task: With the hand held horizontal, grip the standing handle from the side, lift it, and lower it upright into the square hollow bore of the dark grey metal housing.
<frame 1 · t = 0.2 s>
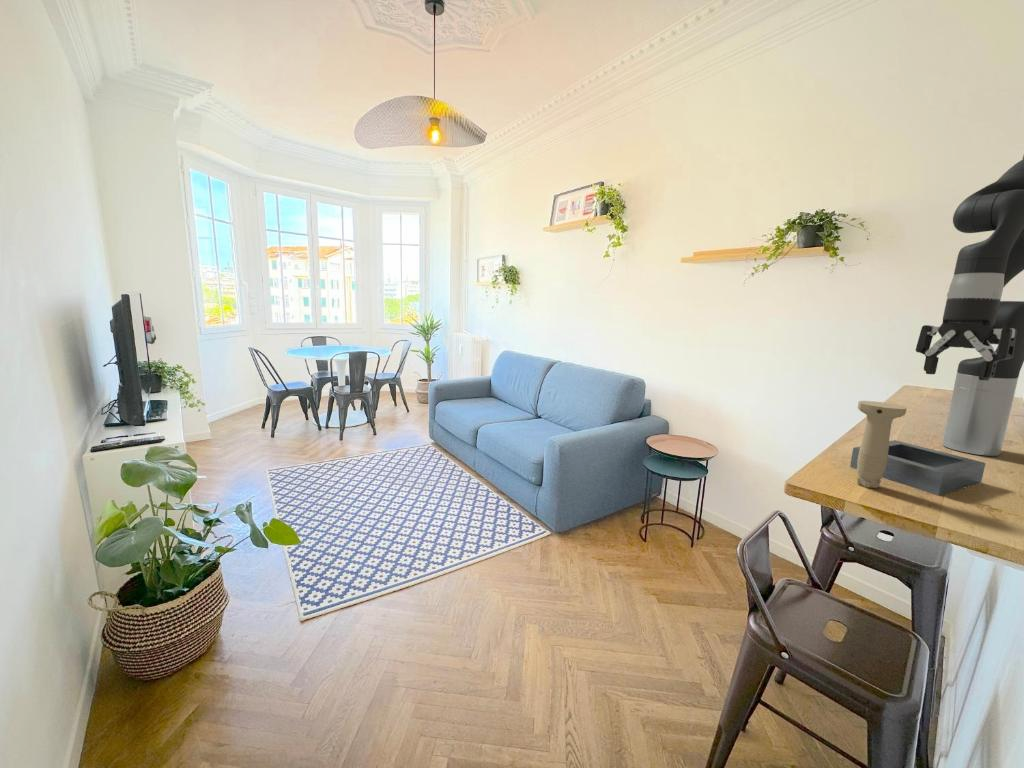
hand: (955, 377, 89), 18 cm above the table, tool pointing down, fingers open, 8 cm apart
housing: (912, 474, 83), on the table
handle: (867, 486, 78), on the table
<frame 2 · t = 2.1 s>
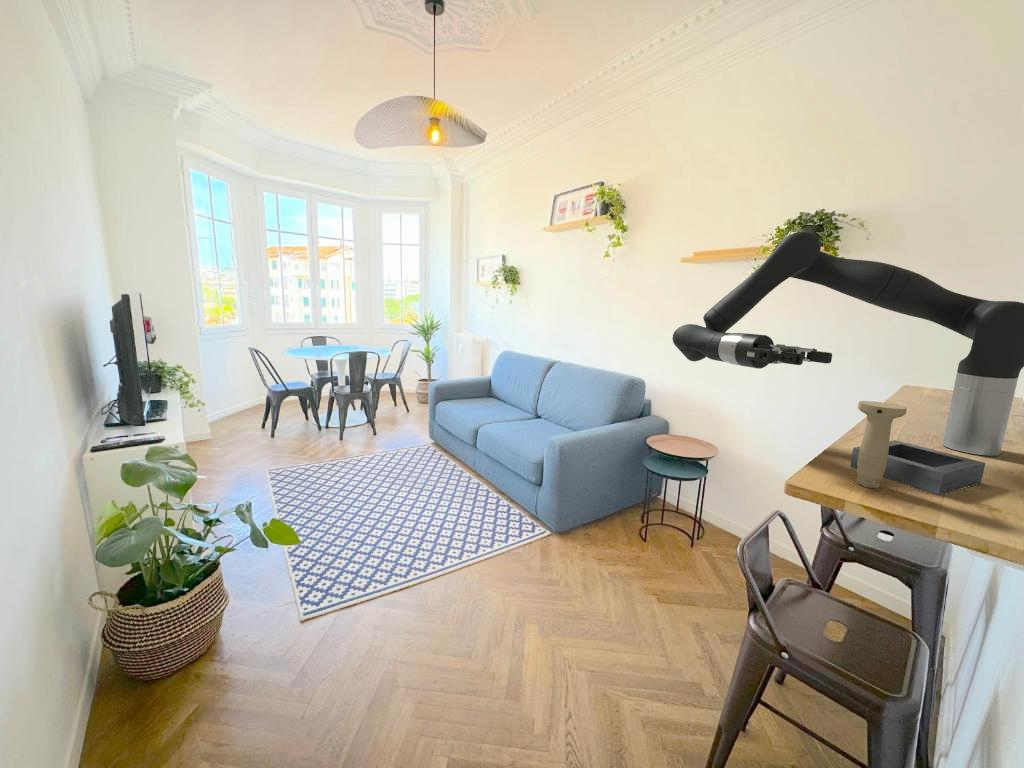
hand: (816, 359, 85), 21 cm above the table, tool horizontal, fingers open, 8 cm apart
nothing on the table moved.
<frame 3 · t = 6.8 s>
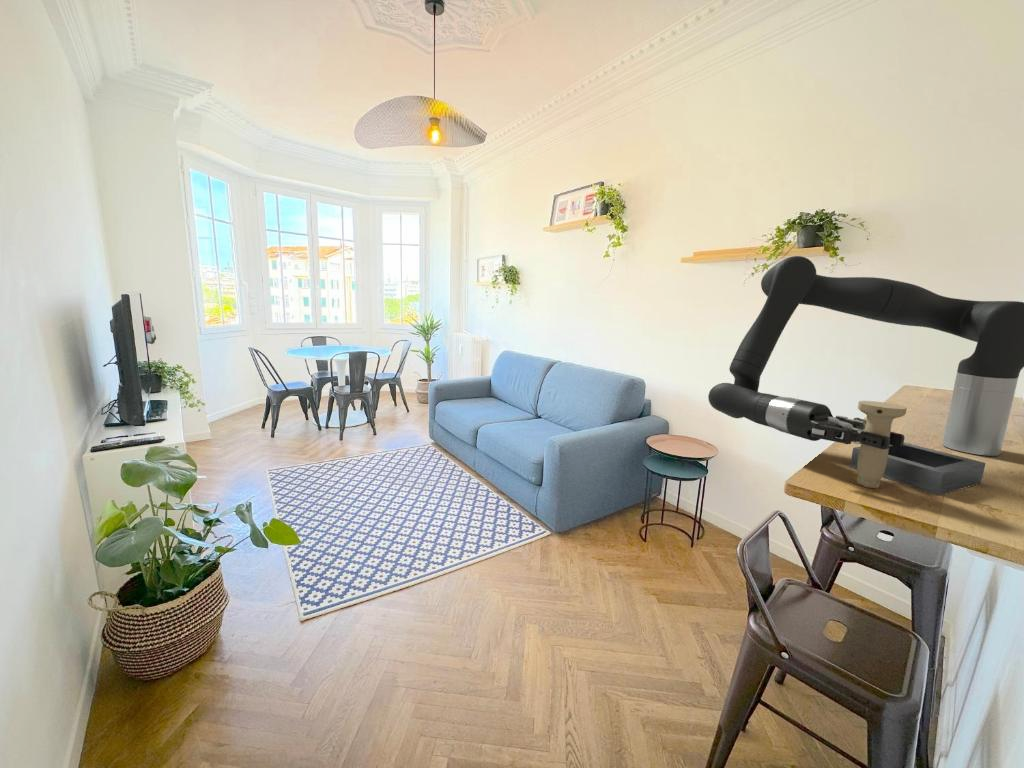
hand: (895, 442, 74), 9 cm above the table, tool horizontal, fingers closed on handle, 3 cm apart
handle: (867, 486, 78), on the table, touching gripper
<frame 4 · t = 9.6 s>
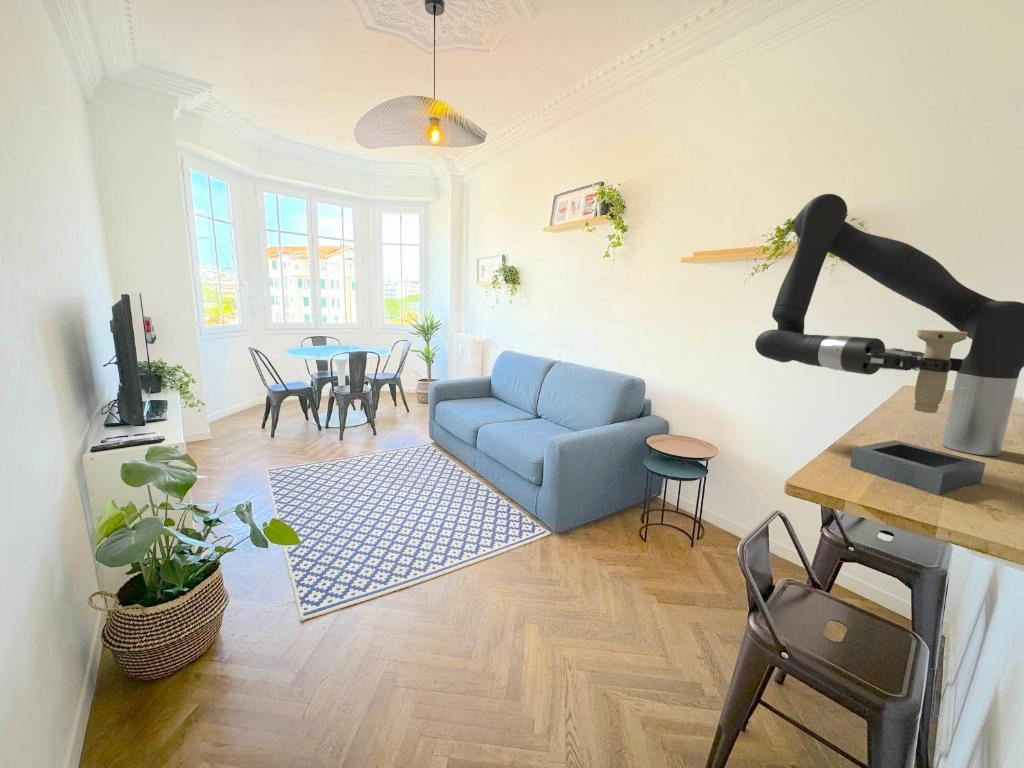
hand: (955, 366, 76), 22 cm above the table, tool horizontal, fingers closed on handle, 3 cm apart
handle: (925, 412, 81), point 12 cm above the table, touching gripper
when the fingers open (11 cm above the table, at t = 12.5 s): handle drops 2 cm, resting in housing.
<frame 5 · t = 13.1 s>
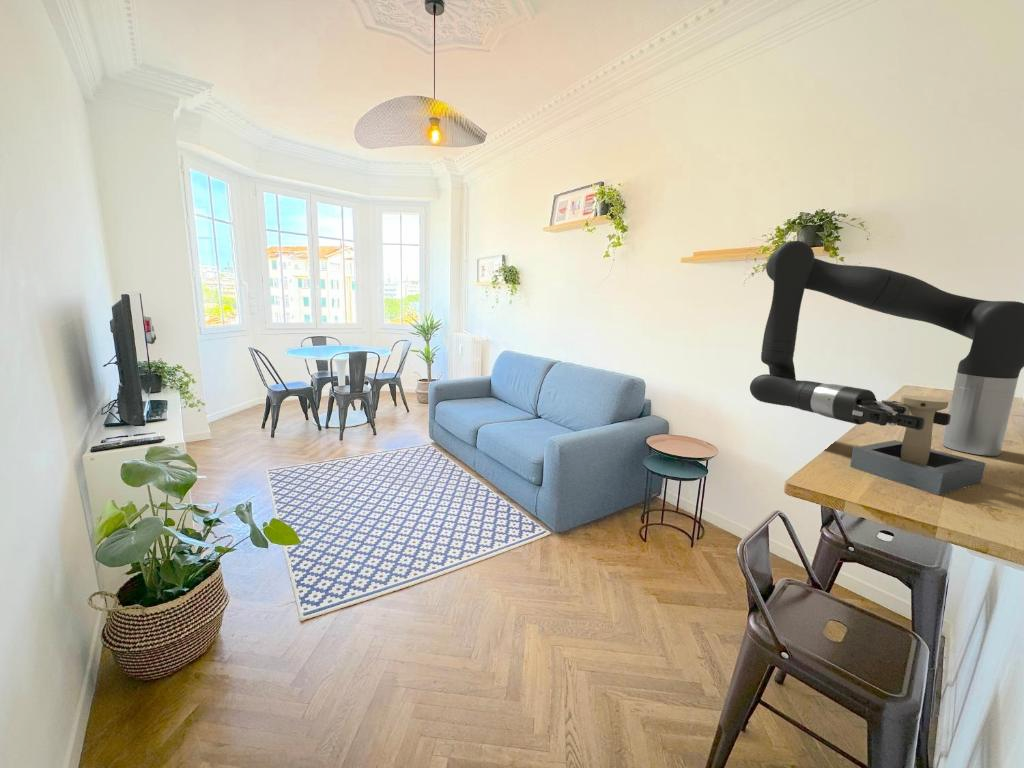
hand: (936, 422, 79), 11 cm above the table, tool horizontal, fingers open, 8 cm apart
handle: (911, 475, 83), resting in housing
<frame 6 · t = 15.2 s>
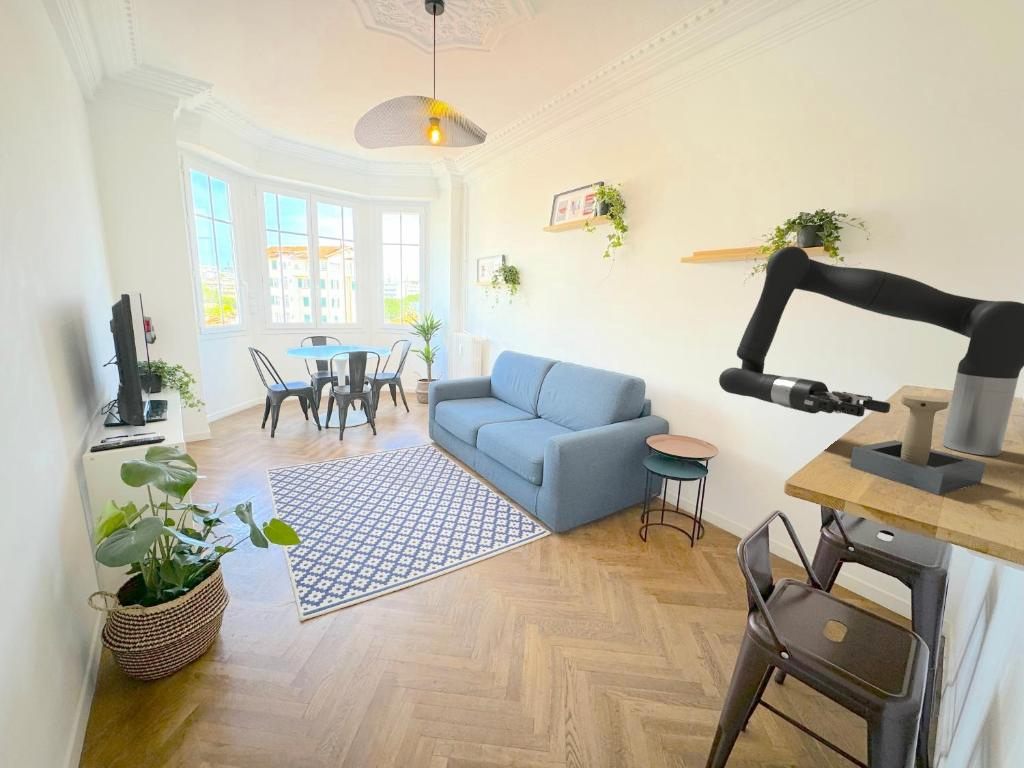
hand: (876, 410, 88), 11 cm above the table, tool horizontal, fingers open, 8 cm apart
nothing on the table moved.
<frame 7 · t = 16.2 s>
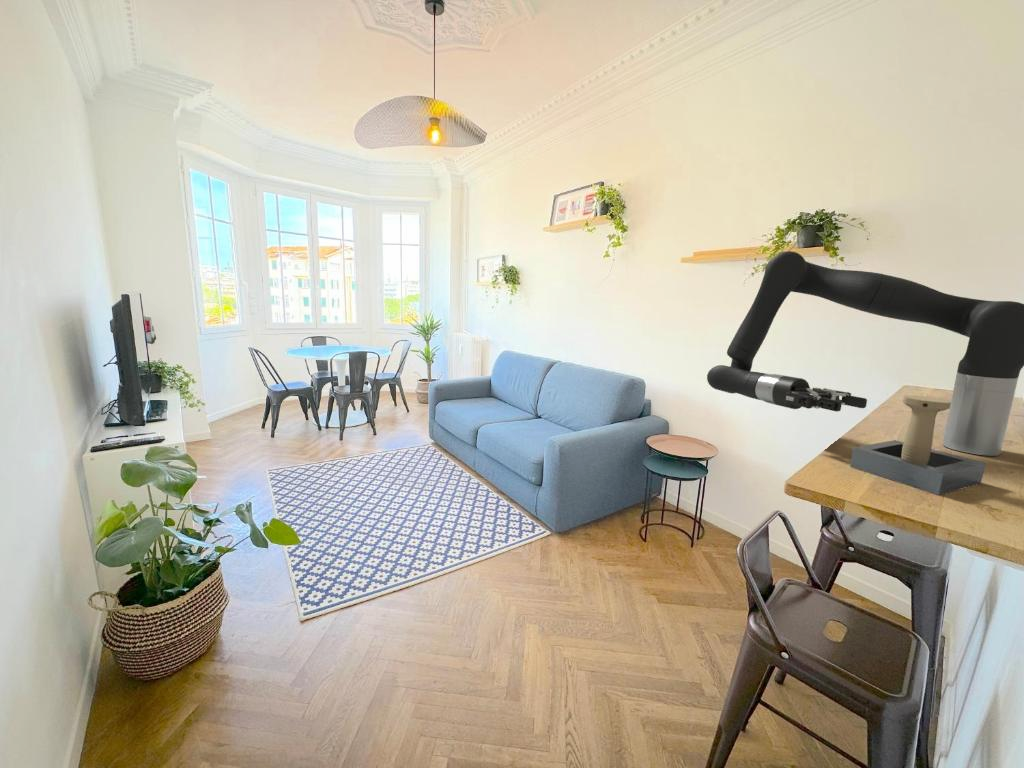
hand: (853, 405, 92), 11 cm above the table, tool horizontal, fingers open, 8 cm apart
nothing on the table moved.
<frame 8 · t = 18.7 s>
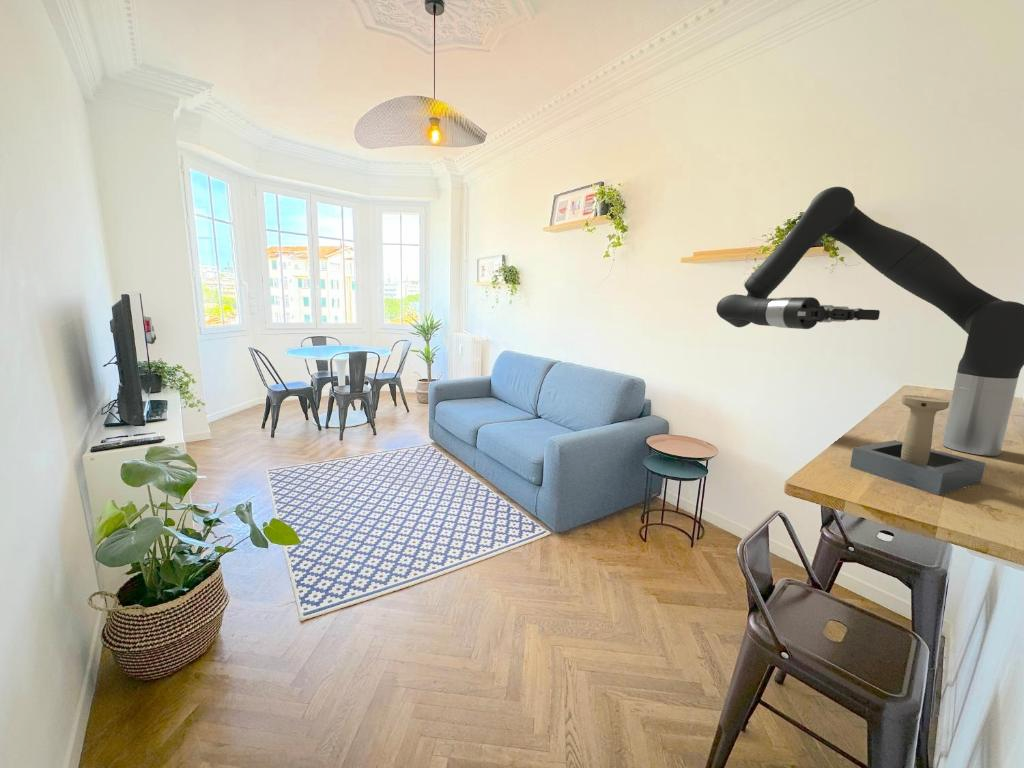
hand: (866, 315, 91), 30 cm above the table, tool horizontal, fingers open, 8 cm apart
nothing on the table moved.
at the end: handle inside the target area on the housing (0.2 cm from its centre), point 0.0 cm above the housing's base; handle tilted 0°; the gripper is holding nothing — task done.
